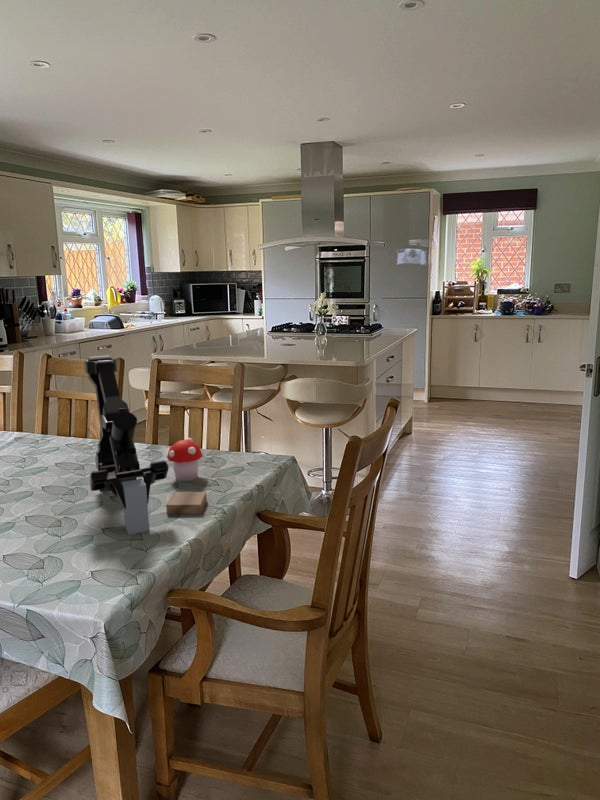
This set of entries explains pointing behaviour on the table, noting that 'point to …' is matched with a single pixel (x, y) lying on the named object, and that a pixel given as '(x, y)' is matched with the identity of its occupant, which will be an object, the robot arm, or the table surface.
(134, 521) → the pillar
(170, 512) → the pedestal
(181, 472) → the mushroom
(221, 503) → the table surface
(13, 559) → the table surface
